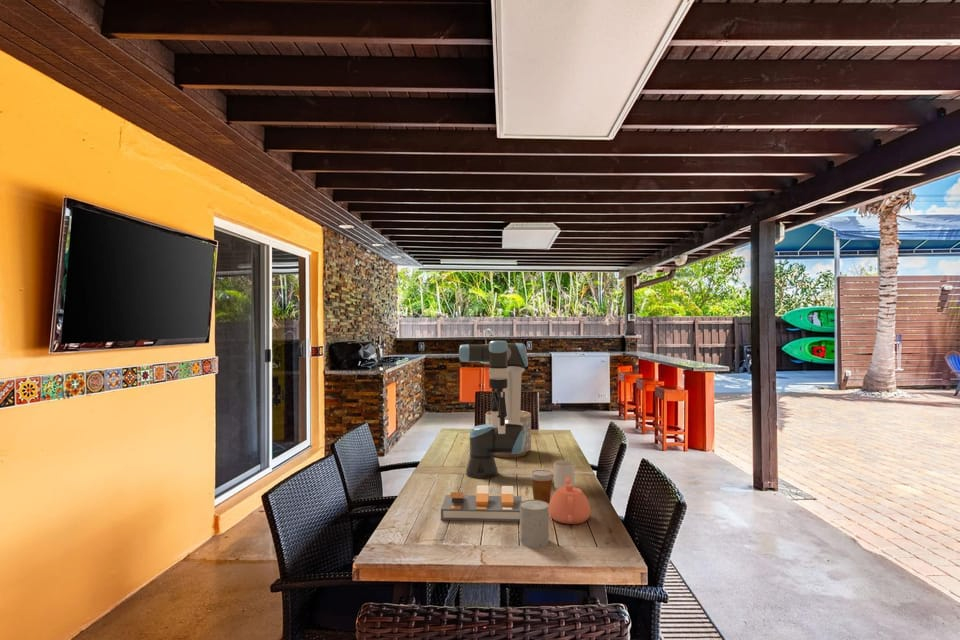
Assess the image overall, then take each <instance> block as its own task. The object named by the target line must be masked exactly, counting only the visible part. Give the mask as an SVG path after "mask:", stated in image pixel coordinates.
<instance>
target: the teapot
mask: <svg viewBox="0 0 960 640" xmlns="http://www.w3.org/2000/svg"><path fill="white" fill-rule="evenodd" d="M591 511H592V510H591V505H590V501H589V499H588V498H587V496H586V494H585V493H584V492H583V490H582V489H581V488H578V487H576V486H575V487H574V485H572V484H570V479H569V477H566V483H565V487H560V488H558V489H555V491H554V493H553V494H552V496H551V497H550V502H549V507H548V515H549V516H550V517H551V518H552V519H553V520H554V521H555V522H558V523H562V524H566V525H578V524H583V523H585V522H587V520H589V518H590V517H591V515H592V514H591V513H592V512H591Z"/></svg>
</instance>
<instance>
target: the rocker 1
mask: <svg viewBox="0 0 960 640" xmlns="http://www.w3.org/2000/svg"><path fill="white" fill-rule="evenodd" d="M450 495H451V497H450V498H465V492H464V491H463V492H462V491H461V492H459V491H456V492H455V491H454V492H453V491H451V492H450Z"/></svg>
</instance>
